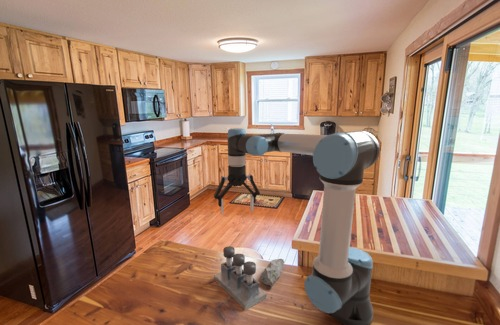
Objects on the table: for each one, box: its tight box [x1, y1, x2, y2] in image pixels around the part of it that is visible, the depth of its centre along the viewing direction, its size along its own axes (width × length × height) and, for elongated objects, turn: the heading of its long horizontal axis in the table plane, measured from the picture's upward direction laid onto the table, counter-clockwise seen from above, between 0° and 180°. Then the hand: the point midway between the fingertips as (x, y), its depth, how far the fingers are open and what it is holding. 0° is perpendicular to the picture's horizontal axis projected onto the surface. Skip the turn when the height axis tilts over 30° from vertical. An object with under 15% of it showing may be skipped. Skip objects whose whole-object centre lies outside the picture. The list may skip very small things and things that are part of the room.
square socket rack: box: [214, 260, 267, 311], centre depth 105 cm, size 22×10×7 cm, turn 38°
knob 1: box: [222, 246, 236, 268], centre depth 109 cm, size 5×5×10 cm
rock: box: [260, 258, 285, 287], centre depth 113 cm, size 16×7×7 cm, turn 153°
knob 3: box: [242, 261, 257, 286], centre depth 98 cm, size 5×5×10 cm
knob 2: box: [232, 253, 246, 276], centre depth 104 cm, size 5×5×10 cm
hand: (237, 211), depth 116 cm, fingers open, 13 cm apart
